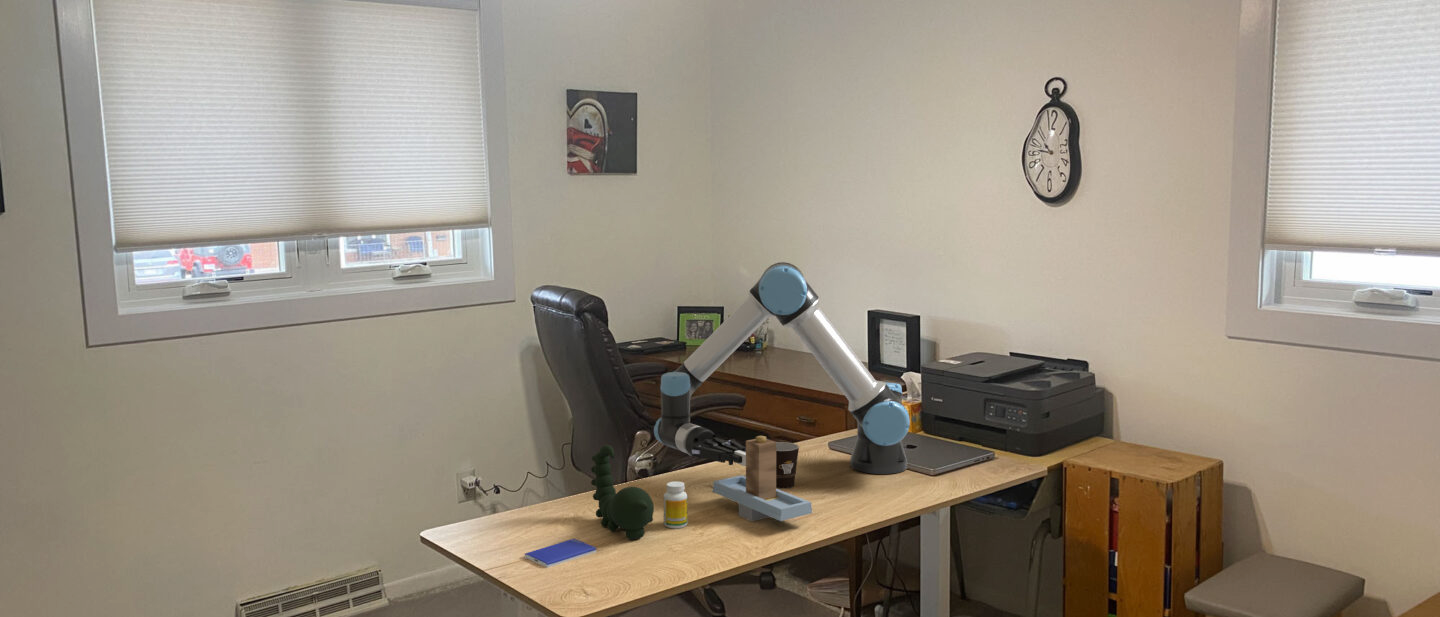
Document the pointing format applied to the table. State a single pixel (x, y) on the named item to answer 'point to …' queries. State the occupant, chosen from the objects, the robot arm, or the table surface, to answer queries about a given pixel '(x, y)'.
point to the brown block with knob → (761, 467)
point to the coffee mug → (786, 464)
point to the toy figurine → (619, 500)
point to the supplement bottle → (675, 505)
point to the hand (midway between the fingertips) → (753, 462)
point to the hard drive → (560, 553)
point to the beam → (761, 501)
